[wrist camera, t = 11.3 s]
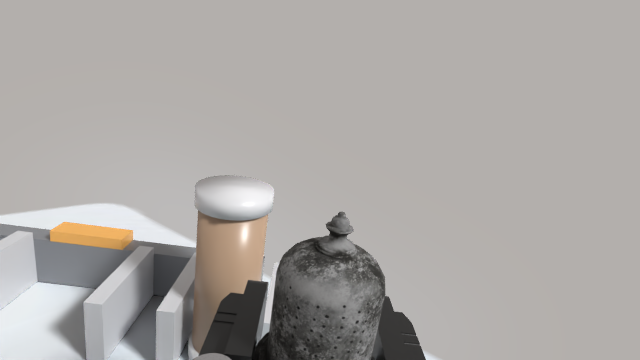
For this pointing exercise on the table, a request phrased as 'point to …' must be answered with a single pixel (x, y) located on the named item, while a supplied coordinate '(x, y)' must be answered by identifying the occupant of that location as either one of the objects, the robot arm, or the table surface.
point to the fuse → (226, 244)
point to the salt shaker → (325, 300)
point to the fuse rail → (109, 280)
